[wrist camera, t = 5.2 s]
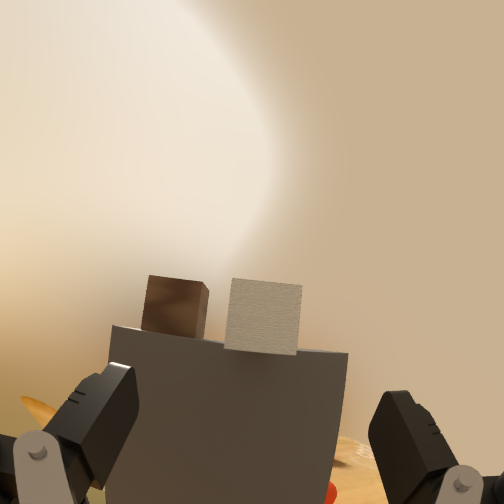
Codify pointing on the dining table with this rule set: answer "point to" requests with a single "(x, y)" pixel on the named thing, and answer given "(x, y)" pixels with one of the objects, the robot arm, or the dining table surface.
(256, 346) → the rod
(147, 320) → the walnut block
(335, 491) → the tomato
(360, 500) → the dining table surface
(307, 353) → the stand
